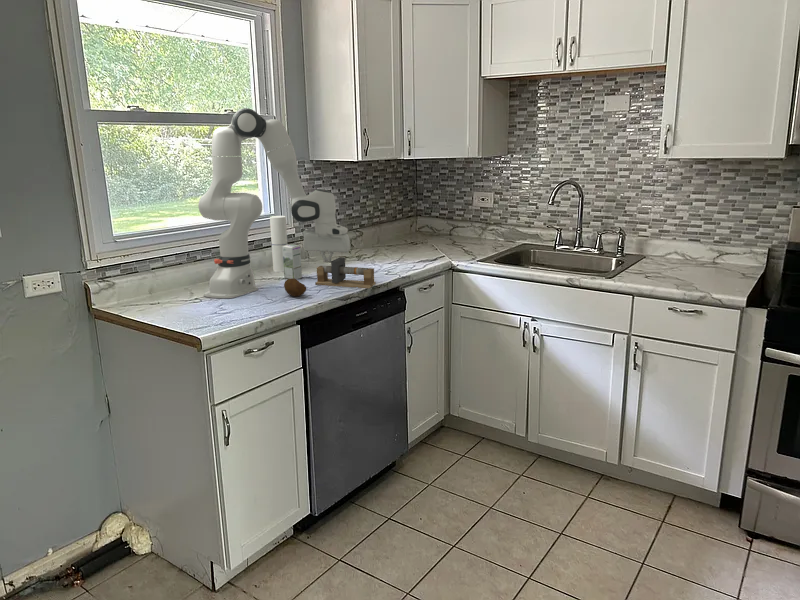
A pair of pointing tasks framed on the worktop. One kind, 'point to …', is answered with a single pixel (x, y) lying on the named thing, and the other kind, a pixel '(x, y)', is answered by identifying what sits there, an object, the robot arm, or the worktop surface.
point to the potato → (294, 287)
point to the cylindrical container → (278, 241)
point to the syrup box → (292, 261)
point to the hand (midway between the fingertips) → (327, 261)
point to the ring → (337, 269)
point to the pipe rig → (367, 283)
